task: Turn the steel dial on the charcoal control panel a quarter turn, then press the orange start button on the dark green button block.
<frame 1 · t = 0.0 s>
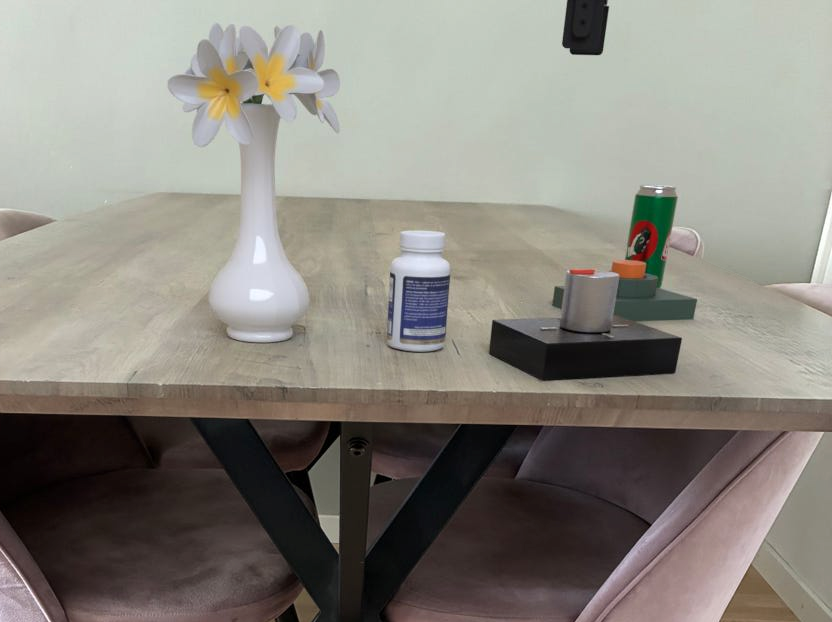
hand: (582, 51, 89), 24 cm above the table, tool pointing down, fingers open, 9 cm apart
start button: (628, 270, 105), point 4 cm above the table, slide at 0.1 cm
soda can: (640, 291, 122), on the table
dial: (589, 298, 82), point 5 cm above the table, hinge at 0.0°
flower vase: (262, 340, 89), on the table
dial panel: (579, 363, 84), on the table
pill bottle: (415, 348, 88), on the table
button block: (621, 312, 107), on the table
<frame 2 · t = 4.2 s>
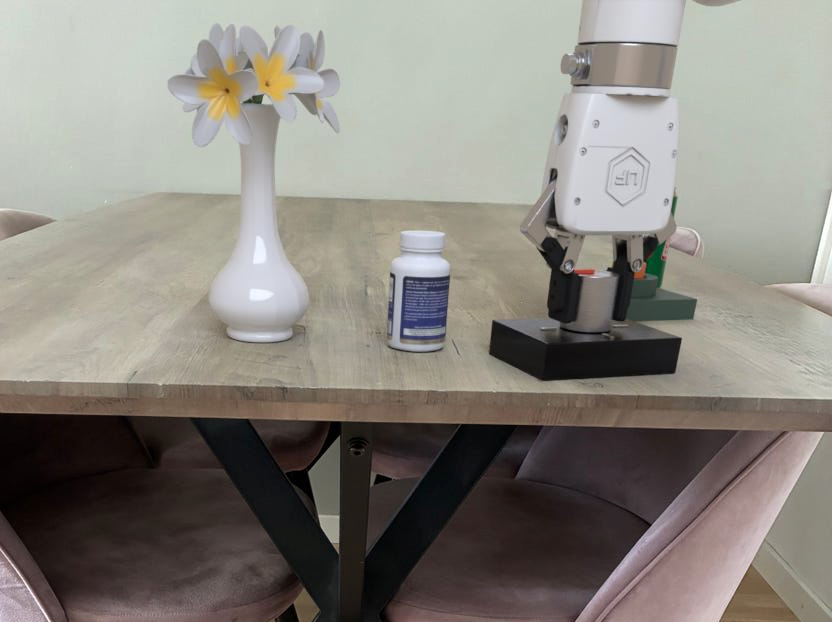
hand: (586, 317, 82), 4 cm above the table, tool pointing down, fingers closed on dial, 4 cm apart
dial: (589, 298, 82), point 5 cm above the table, hinge at 0.1°, touching gripper
everything else where it was.
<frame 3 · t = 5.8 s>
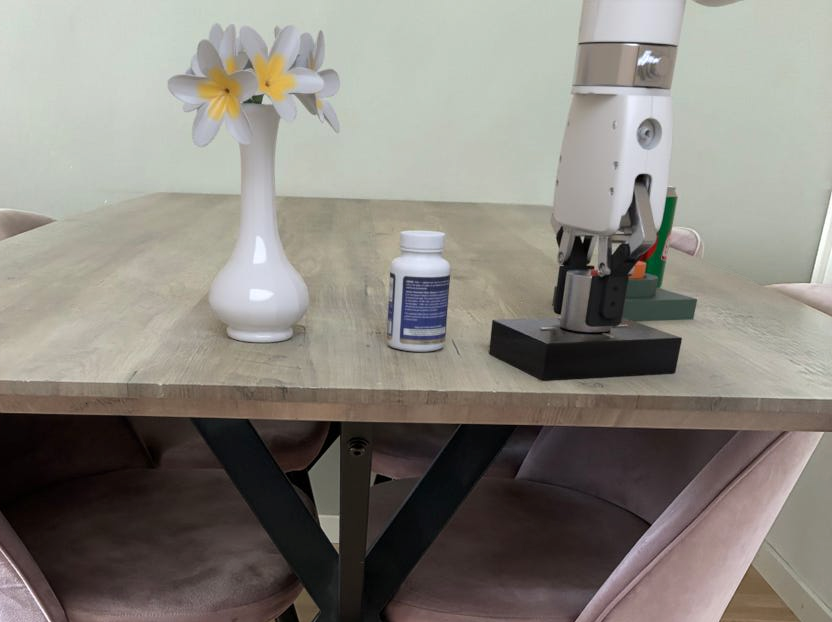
hand: (586, 317, 82), 4 cm above the table, tool pointing down, fingers closed on dial, 4 cm apart
dial: (589, 298, 82), point 5 cm above the table, hinge at 90.3°, touching gripper
everything else where it was.
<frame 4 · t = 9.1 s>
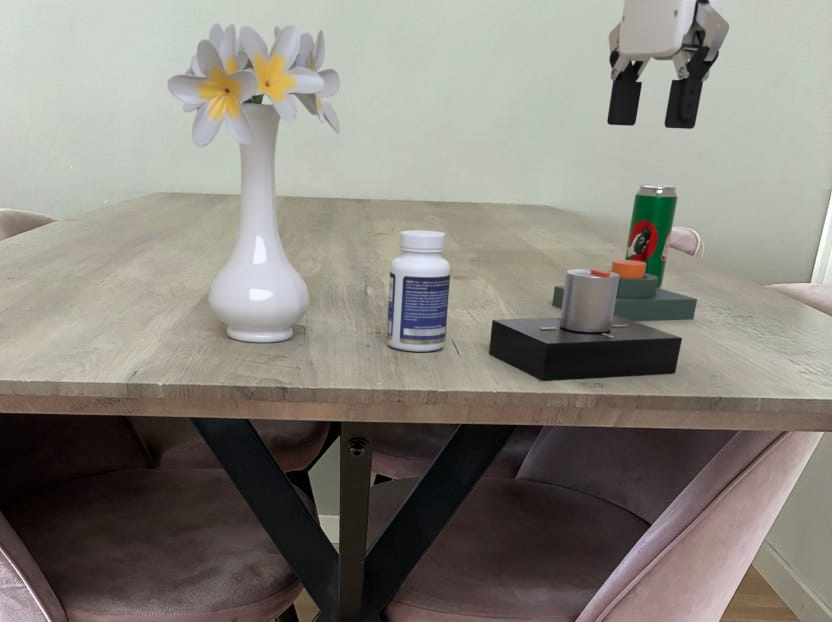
hand: (648, 126, 96), 18 cm above the table, tool pointing down, fingers open, 9 cm apart
dial: (589, 298, 82), point 5 cm above the table, hinge at 88.9°
everything else where it was.
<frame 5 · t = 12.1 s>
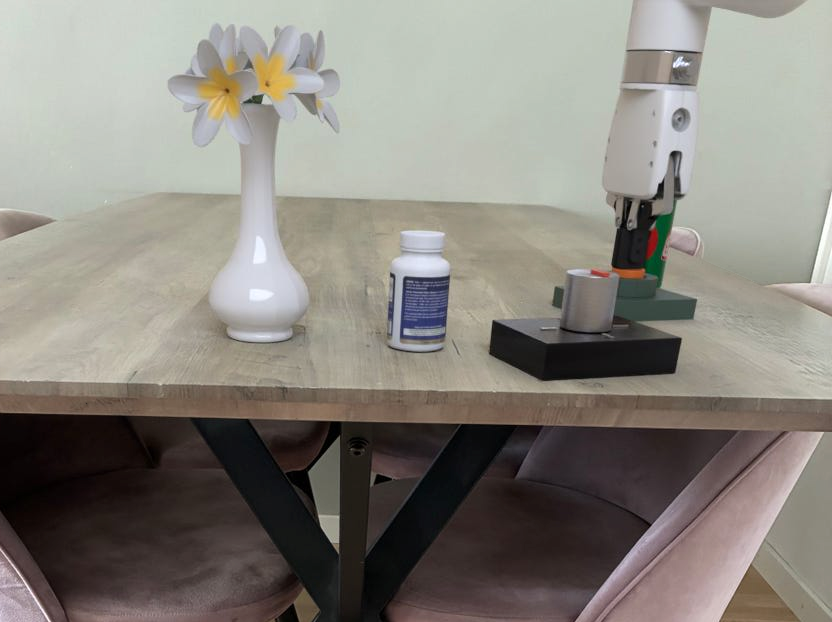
hand: (627, 267, 105), 5 cm above the table, tool pointing down, fingers closed
start button: (627, 276, 105), point 4 cm above the table, slide at -0.5 cm, touching gripper
everything else where it was.
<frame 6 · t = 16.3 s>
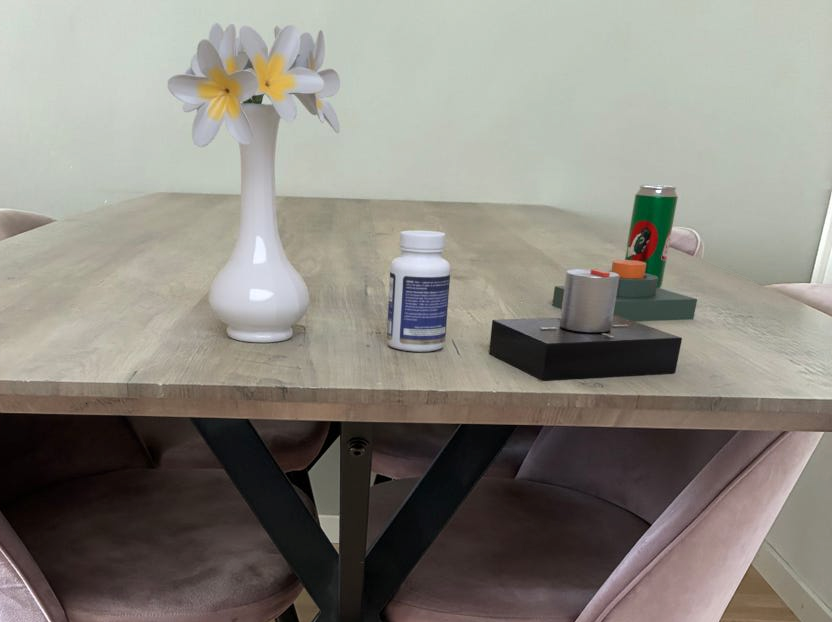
start button: (628, 270, 105), point 4 cm above the table, slide at 0.1 cm
everything else where it was.
at the end: dial at +89° (first picture: +0°); start button pushed in 1.1 cm at the most during the clip, back to where it started at the end; start button slide at 0.1 cm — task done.
